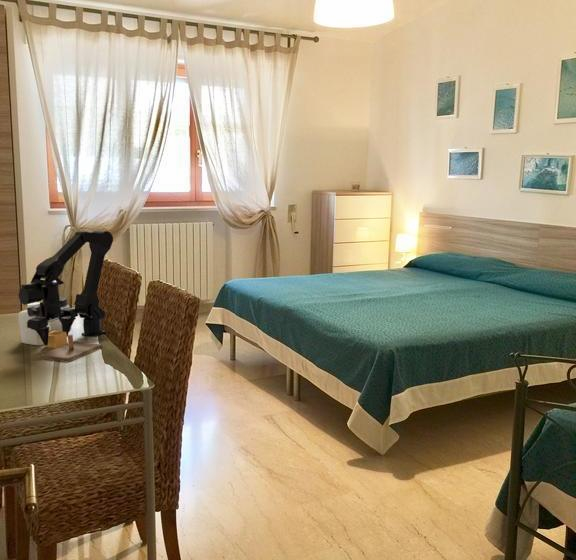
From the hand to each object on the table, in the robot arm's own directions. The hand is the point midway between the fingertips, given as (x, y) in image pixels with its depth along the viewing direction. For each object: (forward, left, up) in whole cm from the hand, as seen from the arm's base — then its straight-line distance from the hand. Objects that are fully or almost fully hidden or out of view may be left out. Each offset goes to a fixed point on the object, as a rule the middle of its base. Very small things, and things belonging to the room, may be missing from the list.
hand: (55, 341), depth 215 cm
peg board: (+5, +12, -1) cm, 13 cm away
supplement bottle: (-6, -15, -2) cm, 16 cm away
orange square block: (0, 0, -1) cm, 1 cm away
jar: (-17, -15, -2) cm, 23 cm away
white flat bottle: (+1, -10, -2) cm, 10 cm away
